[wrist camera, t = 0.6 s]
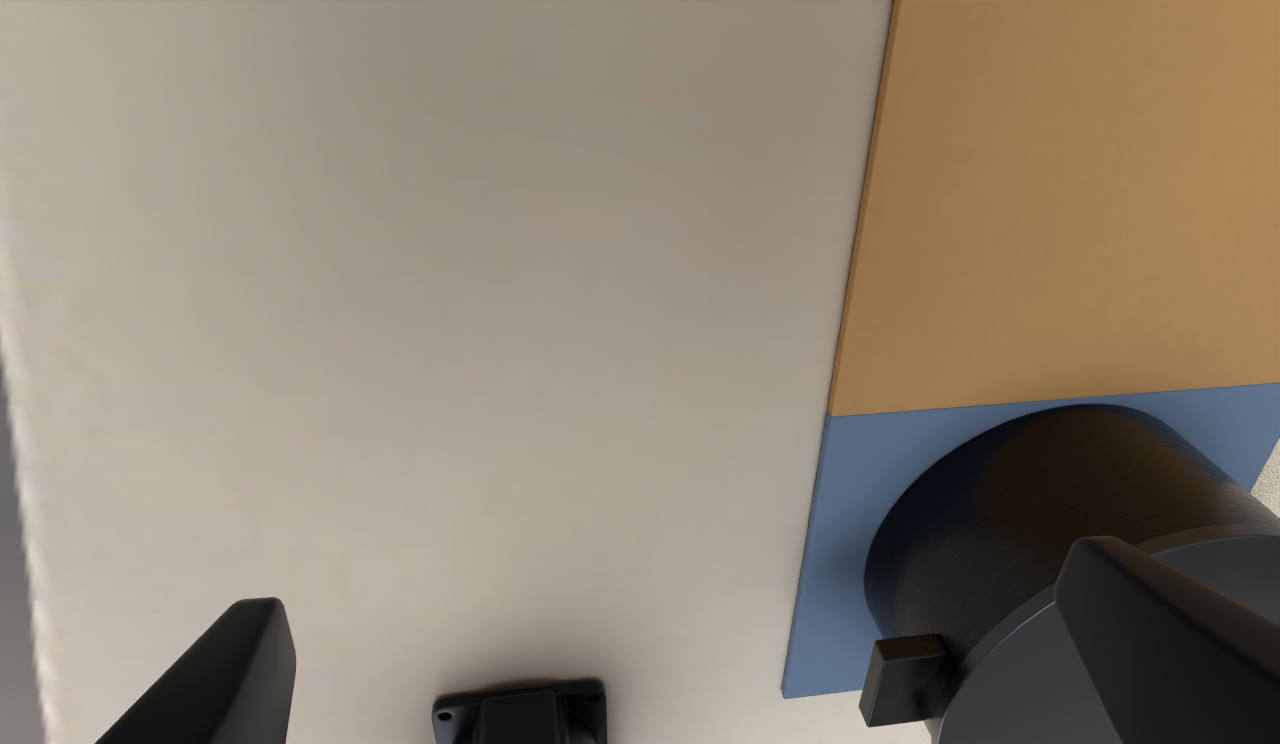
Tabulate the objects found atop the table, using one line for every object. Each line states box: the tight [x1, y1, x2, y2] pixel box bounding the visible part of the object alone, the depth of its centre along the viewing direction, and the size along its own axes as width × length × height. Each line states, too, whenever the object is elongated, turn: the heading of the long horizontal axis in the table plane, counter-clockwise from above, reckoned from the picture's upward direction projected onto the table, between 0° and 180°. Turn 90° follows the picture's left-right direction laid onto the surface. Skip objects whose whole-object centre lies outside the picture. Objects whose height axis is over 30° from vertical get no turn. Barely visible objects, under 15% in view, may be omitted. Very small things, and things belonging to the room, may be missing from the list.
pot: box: [859, 404, 1280, 744], centre depth 27 cm, size 13×16×8 cm
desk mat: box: [782, 0, 1280, 699], centre depth 27 cm, size 28×17×1 cm, turn 179°
